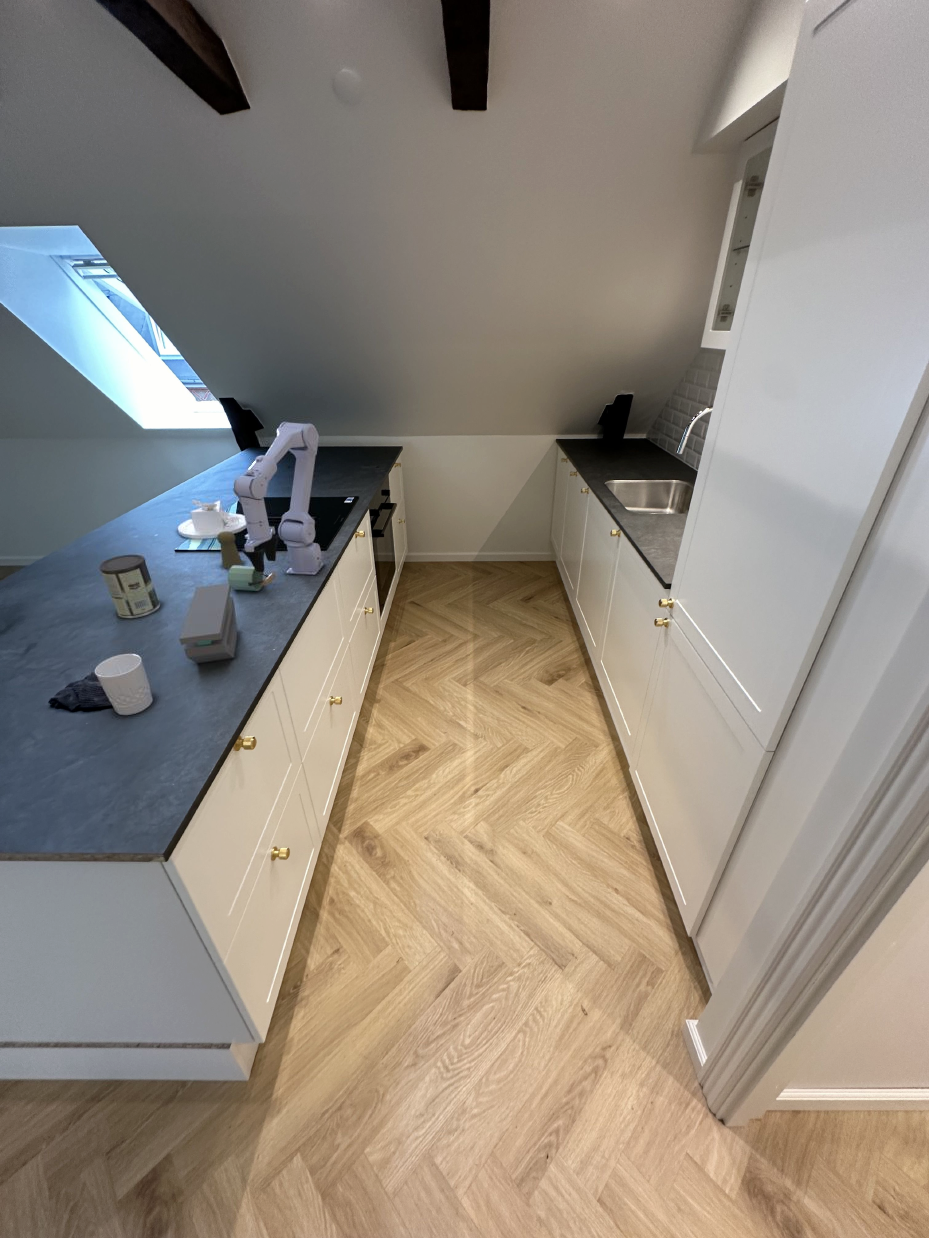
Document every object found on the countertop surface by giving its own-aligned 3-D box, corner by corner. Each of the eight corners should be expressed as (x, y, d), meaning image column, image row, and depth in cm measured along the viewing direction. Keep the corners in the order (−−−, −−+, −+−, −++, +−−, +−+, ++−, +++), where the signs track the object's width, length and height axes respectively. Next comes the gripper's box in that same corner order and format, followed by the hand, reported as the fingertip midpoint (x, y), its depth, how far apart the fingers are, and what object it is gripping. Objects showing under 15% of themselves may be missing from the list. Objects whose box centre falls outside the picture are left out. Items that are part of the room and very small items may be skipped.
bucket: (243, 582, 154) (279, 583, 153) (230, 594, 147) (267, 596, 146) (238, 560, 151) (275, 562, 150) (224, 572, 144) (262, 574, 143)
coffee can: (140, 598, 145) (124, 552, 138) (168, 603, 142) (153, 557, 135) (108, 615, 137) (89, 567, 130) (137, 621, 134) (119, 572, 127)
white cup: (124, 693, 108) (107, 654, 103) (162, 691, 109) (148, 652, 104) (104, 718, 101) (86, 677, 96) (145, 716, 102) (129, 676, 97)
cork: (235, 569, 162) (227, 536, 157) (218, 567, 163) (210, 535, 158) (246, 561, 167) (239, 530, 162) (229, 560, 168) (222, 528, 163)
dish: (234, 539, 185) (226, 508, 179) (165, 538, 185) (156, 508, 179) (258, 516, 206) (252, 489, 200) (197, 516, 206) (189, 488, 201)
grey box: (207, 624, 133) (196, 587, 127) (239, 620, 135) (229, 583, 129) (192, 680, 112) (179, 638, 107) (231, 674, 114) (219, 633, 109)
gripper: (254, 511, 146) (263, 555, 153) (229, 529, 133) (240, 576, 140) (278, 512, 145) (286, 556, 152) (255, 530, 133) (265, 577, 140)
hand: (266, 565), depth 146 cm, fingers open, 7 cm apart
